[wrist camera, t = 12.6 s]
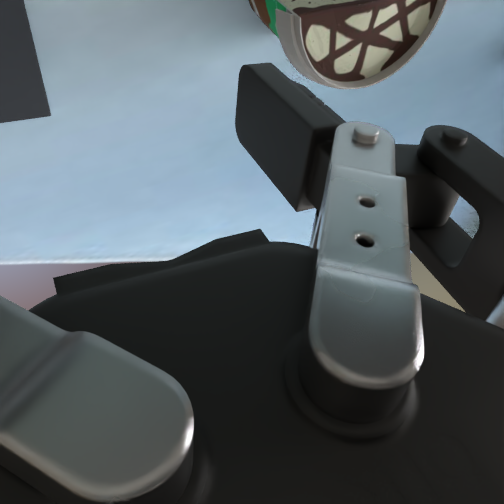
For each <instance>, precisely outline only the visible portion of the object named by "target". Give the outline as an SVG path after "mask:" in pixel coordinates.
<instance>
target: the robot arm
mask: <svg viewBox="0 0 504 504" xmlns="http://www.w3.org/2000/svg"><path fill="white" fill-rule="evenodd" d="M235 126H236V133H237V136H238V139H239V141H240V143H241V144H242V145H243V147H244V148H245V149H246V150H247V152H248V153H249V154H250V155H251V156H252V158H253V159H254V160H255V161H256V163H257V164H258V165H259V166H260V168H261V169H262V170H263V171H264V172H265V174H266V175H267V176H268V177H269V179H270V180H271V181H272V182H273V184H274V185H275V186H276V187H277V188H278V190H279V191H280V192H281V193H282V195H283V196H284V197H285V198H286V200H287V201H288V202H289V203H290V204H291V206H292V207H293V208H294V209H295V211H296V212H299V211H303V210H308V209H312V208H316V209H317V210H316V214H315V219H314V223H313V229H312V234H311V240H310V245H309V247H308V246H304V245H300V244H295V243H288V242H269V240H268V239H267V237H266V236H265V235H264V233H263V232H262V230H261V229H257V230H253V231H249V232H244V233H240V234H236V235H232V236H228V237H223V238H219V239H215V240H213V241H211V242H209V243H207V244H205V245H202V246H200V247H198V248H196V249H194V250H192V251H190V252H188V253H186V254H183V255H181V256H179V257H177V258H175V259H172V260H169V261H159V262H141V263H124V264H110V265H105V266H101V267H97V268H93V269H89V270H84V271H80V272H76V273H72V274H67V275H64V276H59V277H55V278H53V279H54V284H55V288H56V292H57V294H56V295H54V296H52V297H50V298H48V299H46V300H44V301H43V302H41V303H39V304H37V305H36V306H34V307H33V308H31V309H30V310H29V311H28V310H26V309H24V308H22V307H20V306H18V305H17V304H15V303H13V302H11V301H9V300H7V299H6V298H4V297H2V296H0V504H504V158H503V157H502V156H501V155H499V154H498V153H497V152H495V151H494V150H493V149H491V148H490V147H489V146H487V145H486V144H485V143H483V142H482V141H481V140H479V139H478V138H477V137H475V136H474V135H472V134H470V133H469V132H467V131H464V130H462V129H459V128H456V127H451V126H445V125H436V126H431V127H428V128H427V129H426V130H425V131H424V134H423V136H422V139H421V142H420V144H419V145H407V144H395V141H394V138H393V136H392V135H391V134H390V133H389V132H388V131H386V130H385V129H383V128H381V127H379V126H377V125H374V124H370V123H366V122H357V121H356V122H345V121H344V120H343V119H342V118H341V117H340V116H339V115H337V114H336V113H335V112H334V111H333V110H332V109H330V108H329V107H328V106H327V105H324V102H322V101H321V100H320V99H319V98H316V96H315V95H314V94H313V93H312V92H311V91H310V90H309V89H307V88H306V87H305V86H303V85H301V84H299V83H296V82H294V81H292V80H290V79H289V78H288V77H287V76H286V75H284V74H283V73H282V72H281V71H280V70H279V69H278V68H276V67H275V66H274V65H273V64H272V63H260V64H249V65H243V66H242V67H241V69H240V73H239V81H238V93H237V106H236V118H235ZM459 196H461V197H462V198H463V199H465V200H466V201H467V202H468V203H469V204H470V205H471V206H472V207H474V209H475V210H476V211H477V213H478V216H479V220H480V224H479V229H478V231H477V233H476V234H475V236H474V238H473V239H472V238H471V237H470V236H469V235H468V234H467V233H466V232H465V231H464V230H463V229H462V228H461V227H460V226H459V225H458V224H457V223H455V222H454V221H453V220H452V219H451V218H450V217H449V216H450V214H451V212H452V210H453V208H454V206H455V204H456V202H457V200H458V198H459ZM410 250H411V251H412V252H413V253H414V254H415V255H416V257H417V258H418V259H419V260H420V261H421V262H422V263H423V264H424V266H425V267H426V268H427V269H428V270H429V271H430V272H431V273H432V275H434V277H435V278H436V279H437V280H438V281H439V282H440V284H441V285H442V286H443V287H444V288H445V289H446V290H447V291H448V292H449V294H450V295H451V296H452V297H453V298H454V299H455V300H456V302H457V303H458V304H459V305H460V306H461V307H462V308H463V309H464V310H465V312H463V311H461V310H459V309H456V308H454V307H451V306H449V305H447V304H444V303H442V302H440V301H437V300H435V299H433V298H430V297H428V296H426V295H423V294H421V293H420V291H419V288H418V286H417V285H415V284H413V283H412V279H411V262H410Z"/></svg>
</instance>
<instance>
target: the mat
mask: <svg viewBox="0 0 504 504" xmlns="http://www.w3.org/2000/svg"><path fill="white" fill-rule="evenodd" d="M46 116H51V113H50V109H49V105H48V101H47V96H46V92H45V88H44V84H43V80H42V76H41V71H40V67H39V63H38V59H37V55H36V50H35V46H34V42H33V38H32V34H31V30H30V25H29V21H28V17H27V13H26V9H25V5H24V0H0V123H4V122H11V121H18V120H25V119H32V118H39V117H46Z"/></svg>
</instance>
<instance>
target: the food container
mask: <svg viewBox="0 0 504 504" xmlns="http://www.w3.org/2000/svg"><path fill="white" fill-rule="evenodd" d="M249 2H250V5H251V7H252V9H253V11H254V12H255V13H256V14H257V16H258V17H259V18H260V19H261V20H262V22H263V23H264V24H265V25H266V26H267V27H268V28H269V29H270V30H271V31H272V32H273V33H274V34H275V35H276V36H277V37H278V38H279V39H280V42H281V45H282V47H283V50H284V52H285V54H286V56H287V58H288V59H289V61H290V63H291V64H292V65H293V66H294V67H295V68H296V70H297V71H298V72H299V73H301V74H302V75H303V76H305V77H306V78H308V79H310V80H312V81H314V82H316V83H319V84H322V85H325V86H328V87H332V88H337V89H359V88H364V87H368V86H371V85H374V84H377V83H379V82H381V81H383V80H385V79H386V78H388V77H390V76H391V75H393V74H394V73H396V72H397V71H398V70H400V69H401V68H402V67H403V66H404V65H405V64H406V63H408V62H409V61H410V60H411V59H412V57H413V56H414V55H415V54H416V53H417V52H418V51H419V50H420V48H421V47H422V46H423V44H424V43H425V42H426V40H427V39H428V37H429V36H430V34H431V33H432V31H433V29H434V28H435V26H436V24H437V22H438V20H439V18H440V16H441V14H442V12H443V9H444V7H445V4H446V2H447V0H249Z"/></svg>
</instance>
